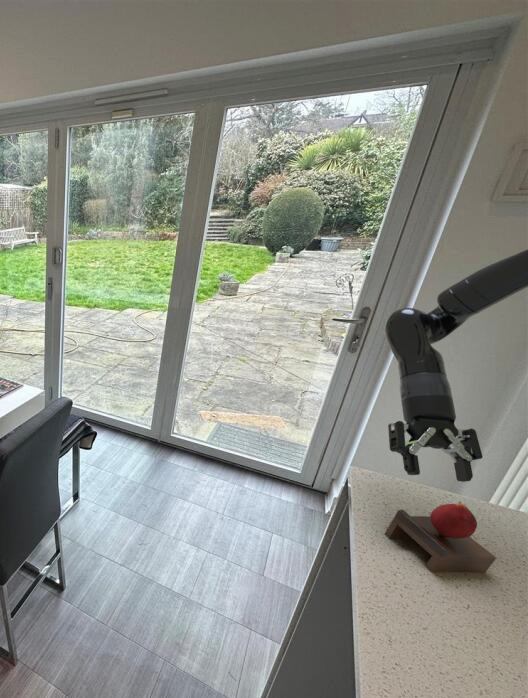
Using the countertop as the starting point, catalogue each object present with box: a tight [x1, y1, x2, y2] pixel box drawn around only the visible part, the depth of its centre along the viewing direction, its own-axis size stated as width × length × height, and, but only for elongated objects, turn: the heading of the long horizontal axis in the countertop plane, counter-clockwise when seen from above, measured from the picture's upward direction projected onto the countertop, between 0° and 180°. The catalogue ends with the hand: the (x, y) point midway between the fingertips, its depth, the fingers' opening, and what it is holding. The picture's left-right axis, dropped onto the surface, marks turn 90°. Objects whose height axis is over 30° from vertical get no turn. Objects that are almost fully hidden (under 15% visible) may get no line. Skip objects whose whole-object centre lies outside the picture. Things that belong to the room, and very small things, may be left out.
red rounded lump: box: [430, 501, 478, 539], centre depth 75 cm, size 6×6×8 cm
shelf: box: [384, 509, 497, 574], centre depth 78 cm, size 10×10×7 cm
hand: (439, 477), depth 79 cm, fingers open, 8 cm apart
